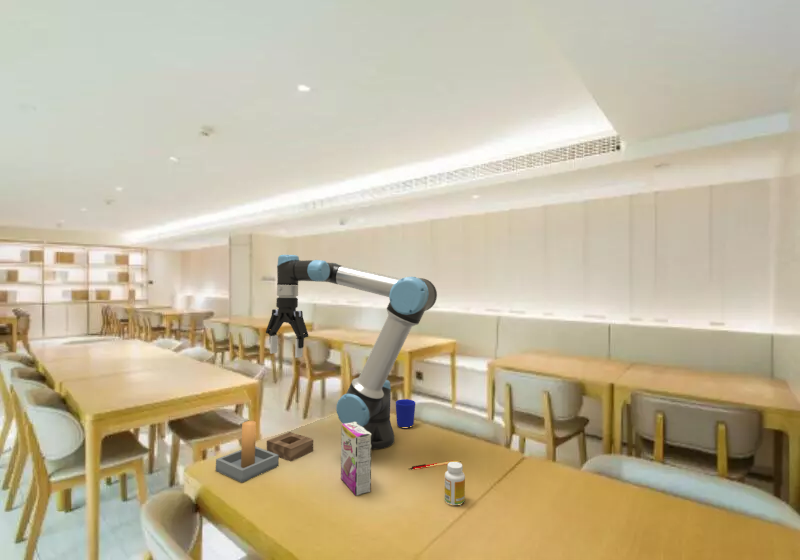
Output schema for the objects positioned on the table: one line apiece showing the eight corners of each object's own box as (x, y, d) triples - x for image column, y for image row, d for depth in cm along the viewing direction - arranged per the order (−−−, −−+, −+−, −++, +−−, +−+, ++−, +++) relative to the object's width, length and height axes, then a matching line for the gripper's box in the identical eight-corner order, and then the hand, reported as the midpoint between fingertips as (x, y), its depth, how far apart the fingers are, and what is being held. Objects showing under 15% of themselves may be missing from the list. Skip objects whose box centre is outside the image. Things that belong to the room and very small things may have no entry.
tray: (278, 466, 122) (278, 454, 122) (241, 482, 111) (242, 470, 111) (252, 455, 129) (252, 445, 129) (215, 470, 118) (216, 459, 119)
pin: (257, 464, 121) (258, 422, 121) (246, 469, 118) (247, 426, 118) (249, 461, 123) (250, 419, 123) (238, 465, 120) (239, 423, 120)
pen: (407, 470, 122) (407, 466, 122) (460, 461, 129) (460, 458, 129) (408, 471, 121) (409, 467, 121) (462, 462, 128) (462, 459, 128)
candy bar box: (339, 479, 115) (340, 423, 115) (354, 475, 117) (356, 420, 118) (355, 497, 105) (356, 436, 105) (371, 492, 108) (372, 432, 108)
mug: (416, 420, 168) (416, 397, 168) (414, 430, 156) (414, 405, 156) (397, 419, 168) (397, 396, 169) (394, 429, 156) (394, 404, 157)
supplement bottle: (466, 498, 106) (466, 462, 106) (462, 508, 100) (463, 470, 101) (446, 494, 107) (447, 458, 108) (442, 504, 102) (442, 467, 102)
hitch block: (313, 450, 134) (313, 439, 134) (290, 461, 126) (290, 448, 126) (289, 442, 141) (289, 431, 141) (266, 452, 132) (266, 440, 132)
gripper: (257, 296, 146) (255, 352, 145) (303, 298, 132) (301, 360, 132) (273, 296, 152) (271, 350, 152) (319, 297, 139) (317, 357, 138)
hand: (285, 355), depth 142 cm, fingers open, 13 cm apart
